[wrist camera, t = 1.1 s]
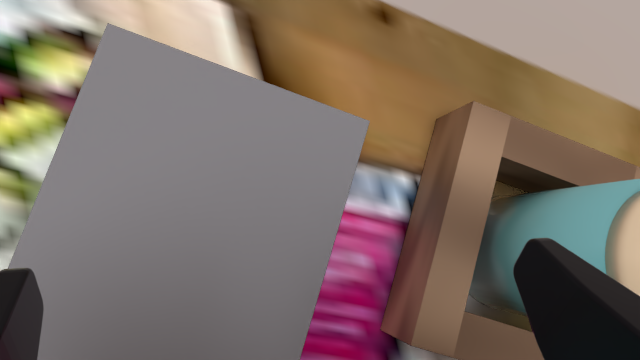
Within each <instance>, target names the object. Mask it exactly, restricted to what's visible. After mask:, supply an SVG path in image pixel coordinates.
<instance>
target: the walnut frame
mask: <svg viewBox="0 0 640 360" xmlns="http://www.w3.org/2000/svg"><path fill="white" fill-rule="evenodd" d="M633 179H640V167H638V166H635V165H633V164H630V163H628V162H625V161H623V160H620V159H618V158H615V157H613V156H610V155H608V154H605V153H603V152H600V151H598V150H595V149H593V148H590V147H588V146H585V145H583V144H580V143H578V142H575V141H573V140H570V139H568V138H565V137H563V136H560V135H558V134H555V133H553V132H550V131H548V130H545V129H543V128H540V127H538V126H535V125H533V124H530V123H528V122H525V121H523V120H520V119H518V118H515V117H513V116H510V115H508V114H505V113H503V112H500V111H498V110H495V109H492V108H490V107H487V106H485V105H482V104H480V103H477V102H475V101H473V102H471V103H469V104H467V105H465V106H463V107H460V108H458V109H456V110H454V111H452V112H450V113H448V114H446V115H444V116H442V117H440V118H438V119H437V120H436V124H435V128H434V131H433V135H432V139H431V143H430V146H429V150H428V154H427V158H426V161H425V165H424V169H423V172H422V176H421V180H420V184H419V187H418V191H417V195H416V198H415V202H414V206H413V210H412V213H411V217H410V221H409V225H408V228H407V232H406V236H405V239H404V243H403V247H402V251H401V254H400V258H399V262H398V265H397V269H396V273H395V277H394V280H393V284H392V288H391V291H390V295H389V299H388V303H387V306H386V310H385V314H384V318H383V321H382V325H381V329H380V330H381V331H383V332H385V333H387V334H389V335H391V336H393V337H395V338H397V339H399V340H401V341H403V342H405V343H407V344H409V345H411V346H414V347H418V348H421V349H425V350H428V351H431V352H435V353H438V354H442V355H445V356H449V357H452V358H456V359H459V360H544V358H543V356H542V354H541V351H540V349H539V347H538V344H537V342H536V339H535V336H534V334H533V332H530V331H527V330H524V329H520V328H517V327H514V326H511V325H507V324H504V323H501V322H498V321H494V320H491V319H488V318H485V317H481V316H478V315H475V314H472V313H468V312H465V311H464V310H465V306H466V302H467V298H468V294H469V290H470V286H471V281H472V277H473V273H474V269H475V265H476V261H477V256H478V252H479V248H480V244H481V240H482V236H483V232H484V227H485V223H486V219H487V215H488V211H489V207H490V203H491V198H492V194H493V190H494V186H495V182H496V180H497V181H500V182H503V183H506V184H508V185H511V186H514V187H516V188H519V189H522V190H524V191H527V192H530V193H532V192H540V191H548V190H556V189H563V188H571V187H579V186H586V185H594V184H602V183H610V182H617V181H625V180H633Z"/></svg>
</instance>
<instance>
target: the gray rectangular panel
mask: <svg viewBox="0 0 640 360" xmlns="http://www.w3.org/2000/svg"><path fill="white" fill-rule="evenodd" d="M369 122H370V121H368V120H365V119H362V118H360V117H357V116H354V115H352V114H349V113H346V112H344V111H341V110H338V109H336V108H333V107H330V106H328V105H325V104H322V103H320V102H317V101H314V100H312V99H309V98H306V97H304V96H301V95H298V94H296V93H293V92H290V91H288V90H285V89H282V88H280V87H277V86H274V85H272V84H269V83H266V82H264V81H261V80H258V79H256V78H253V77H250V76H248V75H245V74H242V73H240V72H237V71H234V70H232V69H229V68H226V67H224V66H221V65H218V64H215V63H213V62H210V61H207V60H205V59H202V58H199V57H197V56H194V55H191V54H189V53H186V52H183V51H181V50H178V49H175V48H173V47H170V46H167V45H165V44H162V43H159V42H157V41H154V40H151V39H149V38H146V37H143V36H141V35H138V34H135V33H133V32H130V31H127V30H125V29H122V28H119V27H117V26H114V25H111V24H109V23H108V24H107V26H106V29H105V31H104V34H103V36H102V38H101V41H100V43H99V46H98V48H97V51H96V53H95V56H94V58H93V61H92V63H91V66H90V68H89V70H88V73H87V75H86V78H85V80H84V83H83V85H82V88H81V90H80V93H79V95H78V97H77V100H76V102H75V105H74V107H73V110H72V112H71V115H70V117H69V120H68V122H67V124H66V127H65V129H64V132H63V134H62V137H61V139H60V142H59V144H58V147H57V149H56V152H55V154H54V156H53V159H52V161H51V164H50V166H49V169H48V171H47V174H46V176H45V179H44V181H43V183H42V186H41V188H40V191H39V193H38V196H37V198H36V201H35V203H34V206H33V208H32V210H31V213H30V215H29V218H28V220H27V223H26V225H25V228H24V230H23V233H22V235H21V238H20V240H19V242H18V245H17V247H16V250H15V252H14V255H13V257H12V260H11V262H10V265H9V267H8V269H12V268H30V269H32V271H33V272H34V274H35V277H36V280H37V283H38V287H39V290H40V293H41V296H42V299H43V306H44V311H43V320H42V328H41V335H40V343H39V350H38V358H37V360H300V357H301V353H302V350H303V347H304V343H305V340H306V336H307V333H308V330H309V326H310V323H311V319H312V316H313V313H314V309H315V306H316V302H317V299H318V296H319V292H320V289H321V285H322V282H323V279H324V275H325V272H326V268H327V265H328V262H329V258H330V255H331V251H332V248H333V244H334V241H335V238H336V234H337V231H338V227H339V224H340V221H341V217H342V214H343V210H344V207H345V204H346V200H347V197H348V193H349V190H350V187H351V183H352V180H353V176H354V173H355V170H356V166H357V163H358V159H359V156H360V153H361V149H362V146H363V142H364V139H365V136H366V132H367V129H368V125H369Z"/></svg>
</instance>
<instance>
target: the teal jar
mask: <svg viewBox="0 0 640 360" xmlns="http://www.w3.org/2000/svg"><path fill="white" fill-rule="evenodd" d="M533 238H550V239H553V240H554V241H556V242H557V243H559V244H560V245H562V246H564V247H565V248H567V249H568V250H570V251H571V252H573V253H574V254H576V255H577V256H579V257H580V258H582V259H584V260H585V261H587V262H588V263H590V264H591V265H593V266H594V267H596V268H597V269H599V270H600V271H602V272H604V273H605V274H607V275H608V276H610V277H611V278H613V279H614V280H616V281H617V282H619V283H620V284H622V285H624V286H625V287H627V288H628V289H630V290H631V291H633V292H634V293H636V294H637V295H639V296H640V179H633V180H625V181H617V182H610V183H602V184H594V185H586V186H579V187H571V188H563V189H556V190H548V191H540V192H532V193H525V194H517V195H509V196H502V197H495V198H491V203H490V207H489V211H488V215H487V219H486V223H485V227H484V232H483V236H482V240H481V244H480V248H479V252H478V256H477V261H476V265H475V269H474V273H473V277H472V281H471V286H470V290H469V294H470V295H471V296H472V297H473V298H475V299H476V300H477V301H479V302H480V303H482V304H484V305H486V306H488V307H491V308H495V309H499V310H503V311H507V312H511V313H515V314H519V315H524V316H527V314H526V311H525V308H524V305H523V302H522V299H521V297H520V294H519V291H518V288H517V285H516V282H515V279H514V275H513V268H514V264H515V262H516V261H517V259H518V257H519V255H520V253H521V251H522V250H523V248H524V246H525V244H526V243H527V241H529V240H530V239H533Z"/></svg>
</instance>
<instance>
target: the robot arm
mask: <svg viewBox="0 0 640 360" xmlns="http://www.w3.org/2000/svg"><path fill="white" fill-rule="evenodd" d="M513 275H514V279H515V282H516V285H517V288H518V291H519V294H520V297H521V299H522V302H523V305H524V308H525V311H526V314H527V317H528V319H529V322H530V325H531V328H532V331H533V334H534V336H535V339H536V342H537V344H538V347H539V349H540V351H541V354H542V356H543V358H544V360H640V296H639V295H637V294H636V293H634V292H633V291H631V290H630V289H628V288H627V287H625V286H624V285H622V284H620V283H619V282H617V281H616V280H614V279H613V278H611V277H610V276H608V275H607V274H605V273H604V272H602V271H600V270H599V269H597V268H596V267H594V266H593V265H591V264H590V263H588V262H587V261H585V260H584V259H582V258H580V257H579V256H577V255H576V254H574V253H573V252H571V251H570V250H568V249H567V248H565V247H564V246H562V245H560V244H559V243H557V242H556V241H554V240H553V239H550V238H533V239H530V240H529V241H527V243H526V244H525V246H524V248H523V250H522V251H521V253H520V255H519V257H518V259H517V261H516V262H515V264H514V268H513ZM43 311H44V306H43V299H42V296H41V293H40V290H39V287H38V283H37V280H36V277H35V274H34V272H33V271H32V269H30V268H12V269H4V270H2V271H0V360H37V358H38V350H39V343H40V335H41V328H42V320H43Z"/></svg>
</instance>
